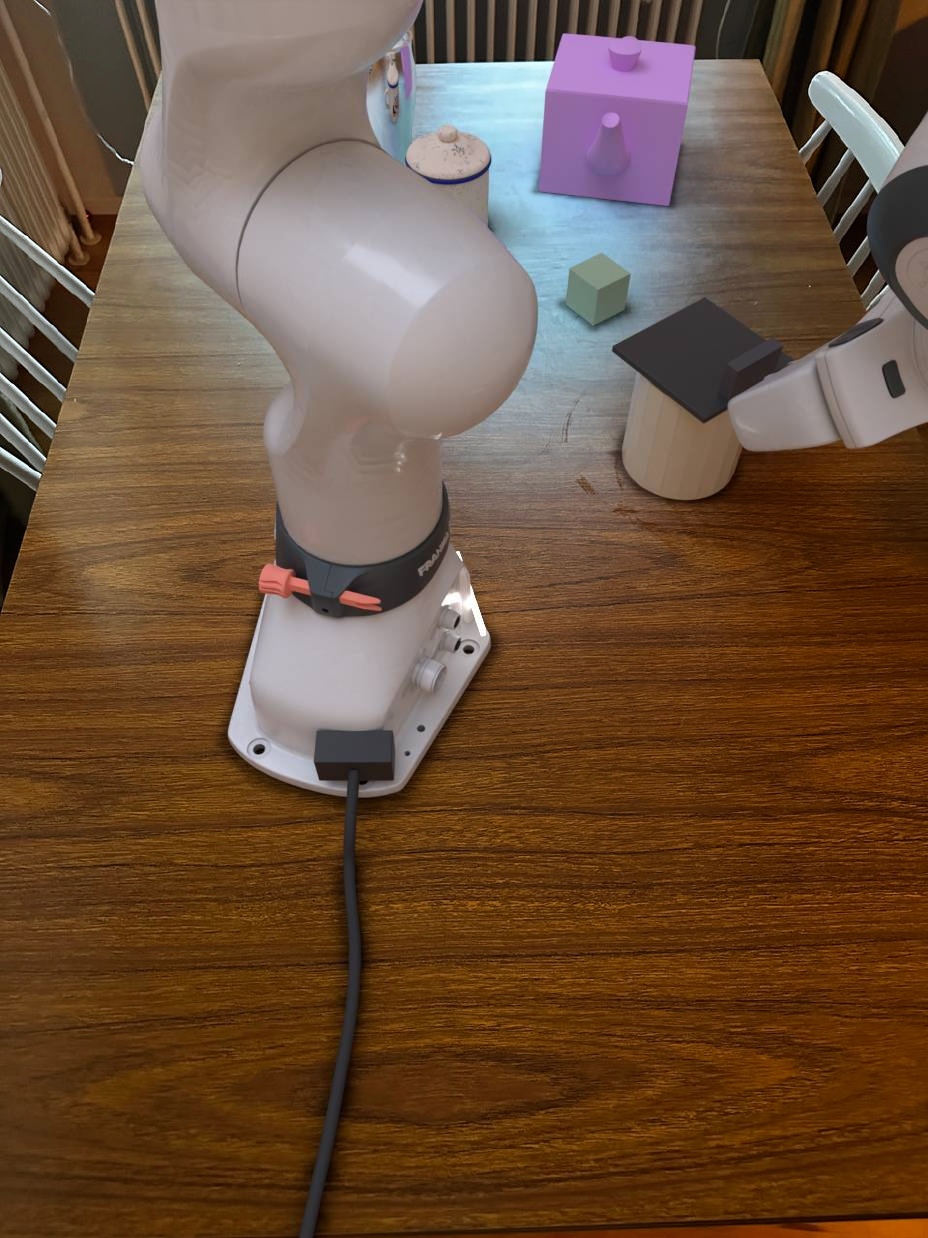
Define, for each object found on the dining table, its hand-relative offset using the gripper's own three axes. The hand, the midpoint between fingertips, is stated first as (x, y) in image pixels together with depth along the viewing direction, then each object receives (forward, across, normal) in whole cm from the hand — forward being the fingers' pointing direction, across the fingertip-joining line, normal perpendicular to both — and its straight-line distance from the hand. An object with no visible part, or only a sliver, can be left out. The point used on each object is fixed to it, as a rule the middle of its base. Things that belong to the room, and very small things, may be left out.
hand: (778, 380), depth 72 cm
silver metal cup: (+54, -6, -34) cm, 64 cm away
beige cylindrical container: (+15, 0, +5) cm, 16 cm away
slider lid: (+7, 0, -3) cm, 8 cm away
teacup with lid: (+45, -3, -24) cm, 51 cm away
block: (+30, -8, -10) cm, 33 cm away
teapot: (+43, -26, -22) cm, 55 cm away
